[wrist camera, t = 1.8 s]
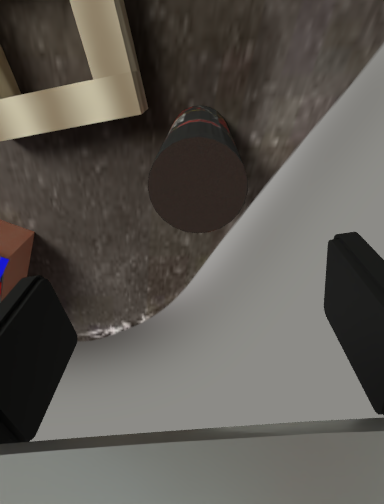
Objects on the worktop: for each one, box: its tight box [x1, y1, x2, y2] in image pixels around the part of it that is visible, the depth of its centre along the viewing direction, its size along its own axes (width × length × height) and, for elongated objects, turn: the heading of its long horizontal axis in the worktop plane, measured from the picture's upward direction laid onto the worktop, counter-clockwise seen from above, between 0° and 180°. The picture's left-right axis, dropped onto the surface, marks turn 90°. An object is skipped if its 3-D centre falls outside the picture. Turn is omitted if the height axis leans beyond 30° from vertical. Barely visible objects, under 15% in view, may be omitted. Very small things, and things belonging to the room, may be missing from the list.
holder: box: [0, 0, 148, 141], centre depth 25 cm, size 15×15×4 cm
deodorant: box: [148, 105, 248, 233], centre depth 24 cm, size 6×6×15 cm
